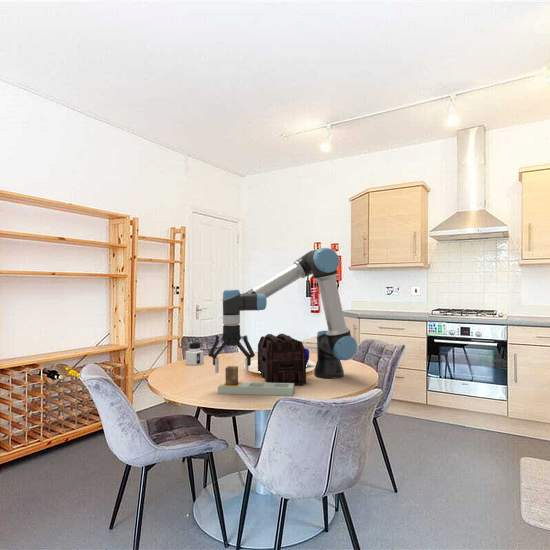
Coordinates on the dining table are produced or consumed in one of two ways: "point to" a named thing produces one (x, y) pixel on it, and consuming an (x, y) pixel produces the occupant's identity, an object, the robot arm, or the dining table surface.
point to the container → (194, 354)
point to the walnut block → (231, 375)
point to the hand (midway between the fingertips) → (231, 373)
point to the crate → (282, 359)
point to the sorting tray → (257, 388)
